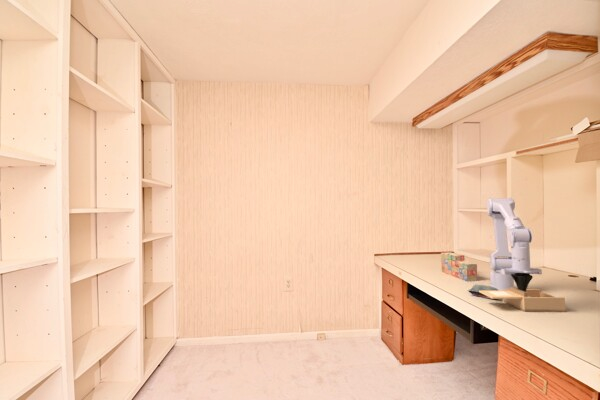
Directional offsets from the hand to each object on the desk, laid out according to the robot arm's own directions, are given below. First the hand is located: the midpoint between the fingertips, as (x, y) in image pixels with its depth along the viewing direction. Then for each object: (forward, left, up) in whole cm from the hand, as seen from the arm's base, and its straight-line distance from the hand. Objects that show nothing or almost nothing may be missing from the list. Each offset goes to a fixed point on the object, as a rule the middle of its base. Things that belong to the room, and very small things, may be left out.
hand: (522, 292), depth 107 cm
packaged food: (-13, -7, -6) cm, 15 cm away
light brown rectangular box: (0, +4, -6) cm, 7 cm away
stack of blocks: (-47, 0, -6) cm, 48 cm away
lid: (0, -7, -1) cm, 7 cm away
